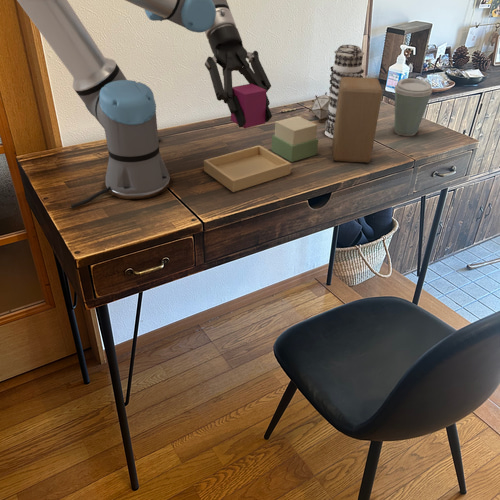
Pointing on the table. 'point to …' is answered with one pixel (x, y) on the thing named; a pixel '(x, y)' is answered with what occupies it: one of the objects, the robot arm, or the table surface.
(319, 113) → the game die
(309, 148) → the sage block
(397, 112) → the disposable coffee cup
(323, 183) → the table surface
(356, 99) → the wooden block
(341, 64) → the leaning tower model
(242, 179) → the tray
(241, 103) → the mulberry block
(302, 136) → the cream block
